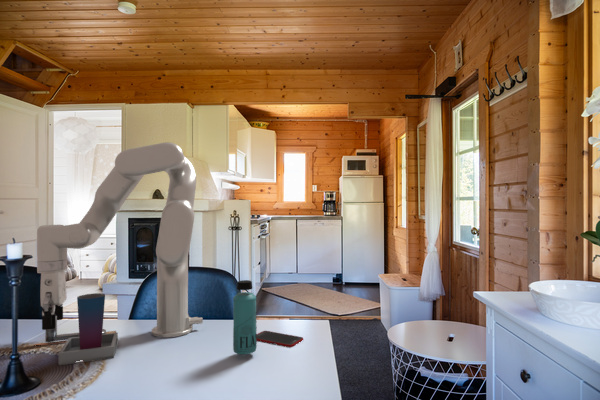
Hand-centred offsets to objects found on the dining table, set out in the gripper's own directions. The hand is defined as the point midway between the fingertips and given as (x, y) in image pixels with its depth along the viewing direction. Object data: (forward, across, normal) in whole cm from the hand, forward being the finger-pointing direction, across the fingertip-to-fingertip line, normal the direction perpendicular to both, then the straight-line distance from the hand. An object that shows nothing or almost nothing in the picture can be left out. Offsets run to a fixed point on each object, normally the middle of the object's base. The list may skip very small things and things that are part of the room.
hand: (53, 324), depth 112 cm
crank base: (+6, 0, -6) cm, 8 cm away
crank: (+5, 0, -6) cm, 8 cm away
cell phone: (+7, -22, -62) cm, 67 cm away
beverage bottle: (+7, -31, -50) cm, 60 cm away
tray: (+6, -13, -11) cm, 18 cm away
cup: (+6, -13, -12) cm, 18 cm away
